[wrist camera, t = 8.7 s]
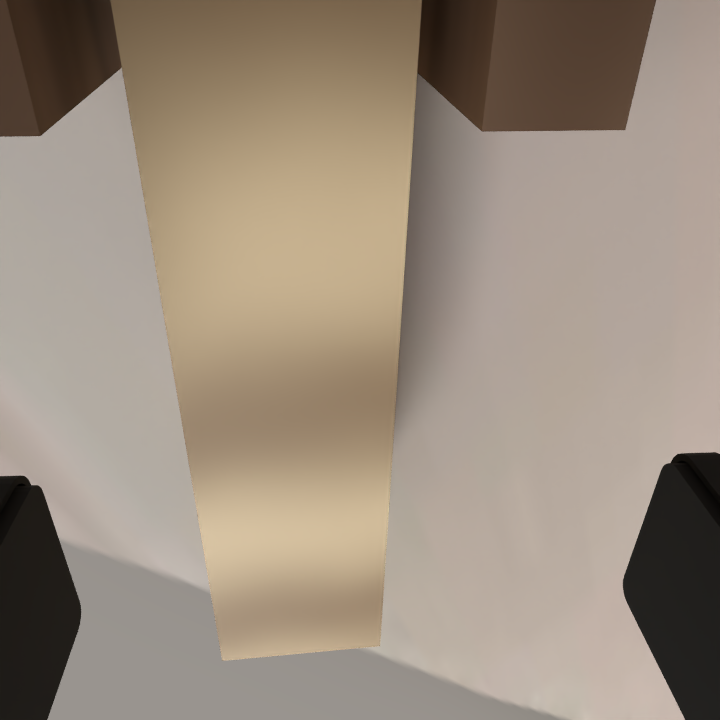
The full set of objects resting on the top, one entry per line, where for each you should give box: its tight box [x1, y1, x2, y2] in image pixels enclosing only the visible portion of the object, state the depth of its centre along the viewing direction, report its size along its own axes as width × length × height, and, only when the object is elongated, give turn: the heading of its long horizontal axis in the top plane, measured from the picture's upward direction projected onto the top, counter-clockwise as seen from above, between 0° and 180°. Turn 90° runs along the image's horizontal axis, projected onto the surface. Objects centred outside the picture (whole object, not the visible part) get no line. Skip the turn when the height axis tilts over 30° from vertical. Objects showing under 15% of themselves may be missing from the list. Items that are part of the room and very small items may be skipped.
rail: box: [111, 0, 422, 661], centre depth 14 cm, size 17×4×6 cm, turn 179°
